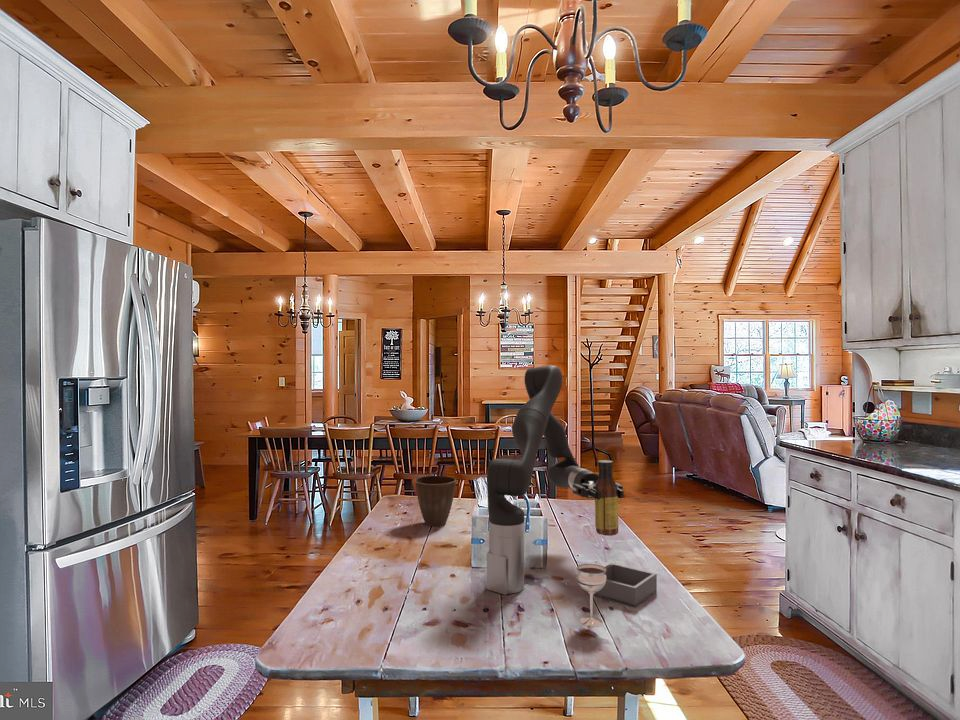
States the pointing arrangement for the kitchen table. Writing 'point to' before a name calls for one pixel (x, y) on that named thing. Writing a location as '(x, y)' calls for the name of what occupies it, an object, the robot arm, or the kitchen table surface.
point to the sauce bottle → (606, 500)
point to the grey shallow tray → (627, 585)
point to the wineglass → (591, 587)
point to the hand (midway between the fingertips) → (610, 495)
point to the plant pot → (435, 498)
